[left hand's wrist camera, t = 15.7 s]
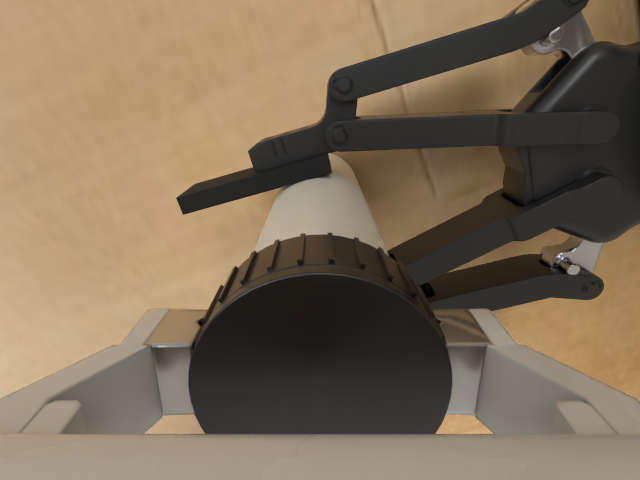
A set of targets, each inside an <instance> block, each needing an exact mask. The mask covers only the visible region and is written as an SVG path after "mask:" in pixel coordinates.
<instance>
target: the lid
mask: <svg viewBox="0 0 640 480" xmlns="http://www.w3.org/2000/svg"><path fill="white" fill-rule="evenodd" d="M202 323H203V325H202V327H201V329H200V331H199V333H198V335H197V337H196V339H195V341H194V350H193V353H192V356H191V360H190V366H189V372H188V388H189V394H190V400H191V404H192V407H193V410H194V413H195V416H196V418H197V420H198V422H199V424H200V426H201V428H202V429H203V431H204V432H205V434H435V433H436V432H437V430H438V429H439V427H440V425H441V424H442V422H443V419H444V417H445V415H446V412H447V410H448V406H449V402H450V399H451V392H452V383H453V381H452V366H451V362H450V357H449V353H448V351H447V348H446V345H445V343H444V340H445V339H446V338H445V335H444V333H443V331H442V329H441V327H440V325H439V323H438V321H437V319H436V317H435V314H434V312H433V310H432V308H431V306H430V305H429V303H428V301H427V299H426V297H425V295H424V293H423V291H422V289H421V287H420V285H419V283H418V281H417V280H416V279H415V280H414V281H413V280H412V279H411V277H410V276H409V275H408V273H407V271H406V269H405V267H404V265H403V263H402V262H400V261H399V262H398V263H397V262H396V261H395V260H394V259H392V258H391V257H389V256H388V255H387V254H385V253H384V251H383V249H382V248H381V247H378V249H377V248H375V247H373V246H371V245H369V244H366V243H364V242H361V241H359V238H357V237H354V239H351V238H347V237H343V236H336V235H333V234H332V233H330V232H328V234H327V235H326V234H323V235H305V233H302V234H300V236H298V237H293V238H289V239H286V240H282V241H279V239H278V240H275V241H274V244H272V245H270V246H267V247H265V248H264V249H262V250H260V251H259V252H256V251H253V252H252V253H251V255H250V258H249V259H247V260H246V261H245V262H243V263H242V264H241V265H240V266H239V267H238V268H237V267H236V266H235V267H234V268H233V269H232V271H231V273H230V276H229V278H228V280H227V282H226V284H225V286H222V285H221V286H220V287H219V289H218V291H217V293H216V295H215V297H214V299H213V301H212V303H211V305H210V307H209V309H208V311H207V313H206V315H205V317H204V319H203V321H202Z"/></svg>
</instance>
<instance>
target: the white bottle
mask: <svg viewBox="0 0 640 480" xmlns="http://www.w3.org/2000/svg"><path fill="white" fill-rule="evenodd" d="M328 155H329V159H330V163H331V170H332V173H330V174H327V175H323V176H319V177H316V178H312V179H309V180H305V181H302V182H298V183H294V184H291V185H287V186H284V187H280V188H279V191H278V193H277V195H276V198H275V200H274V203H273V205H272V207H271V210H270V212H269V215H268V217H267V220H266V222H265V224H264V227H263V229H262V232H261V234H260V236H259V239H258V241H257V244H256V246H255V248H254V251H256V252H259V251H260V250H262V249H264V248H265V247H267V246H270V245H272V244H274V241H275V240H278V239H279V241H282V240H286V239H289V238H293V237H298V236H300V234H302V233H305V235H323V234H326V235H327V234H328V232H330V233H332V234H333V235H336V236H343V237H347V238H351V239H354V237H357V238H359V241H361V242H364V243H366V244H369V245H371V246H373V247H375V248H377V249H378V247H381V248H382V249H383V251H384V253H385V254H387V255H388V253H387V250H386V248H385V246H384V243H383V241H382V238H381V236H380V234H379V231H378V229H377V226H376V224H375V222H374V219H373V217H372V215H371V212H370V210H369V207H368V205H367V203H366V200H365V198H364V195H363V193H362V191H361V188H360V186H359V183H358V181H357V179H356V176H355V174H354V172H353V170H352V168H351V167H350V166H349V165H348V163H347V162H345V161H344V160H343V159H342V158H340V157H339V156H337V155H334V154H332V153H328ZM388 256H389V255H388Z"/></svg>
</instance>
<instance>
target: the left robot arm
mask: <svg viewBox="0 0 640 480" xmlns="http://www.w3.org/2000/svg"><path fill="white" fill-rule="evenodd" d="M207 311H208V309H170V308H163V309H148V310H147V311H146V313H145V314H144V315H143V316H142V318H141V319H140V320H139V321H138V323H137V324H136V325H135V326H134V328H133V329H132V330H131V331H130V333H129V334H128V335H127V336H126V338H125V339H124V340H123V341H122V343H121V344H120V345H112V346H110V347H108V348H106V349H104V350H102V351H99V352H97V353H95V354H93V355H91V356H89V357H87V358H85V359H83V360H81V361H79V362H76V363H74V364H72V365H70V366H68V367H66V368H64V369H62V370H60V371H58V372H55V373H53V374H51V375H49V376H47V377H45V378H43V379H41V380H39V381H37V382H35V383H32V384H30V385H28V386H26V387H24V388H22V389H20V390H18V391H16V392H14V393H11V394H9V395H7V396H5V397H3V398H1V399H0V480H640V402H639V401H638V400H637V399H635V398H633V397H631V396H629V395H627V394H625V393H623V392H621V391H619V390H617V389H615V388H613V387H610V386H608V385H606V384H604V383H602V382H600V381H598V380H596V379H594V378H592V377H590V376H588V375H586V374H583V373H581V372H579V371H577V370H575V369H573V368H571V367H569V366H567V365H565V364H563V363H561V362H559V361H556V360H554V359H552V358H550V357H548V356H546V355H544V354H542V353H540V352H538V351H536V350H534V349H532V348H529V347H527V346H525V345H517V343H516V342H515V341H514V340H513V338H512V337H511V336H510V335H509V333H508V332H507V331H506V330H505V328H504V327H503V326H502V324H501V323H500V322H499V321H498V319H497V318H496V317H495V316H494V314H493V313H492V312H491V311H490V310H489V309H487V308H480V309H437V310H433V312H434V314H435V317H436V319H437V321H438V323H439V325H440V327H441V329H442V331H443V333H444V335H445V338H446V339H445V340H444V343H445V345H446V348H447V351H448V353H449V357H450V362H451V366H452V381H453V383H452V392H451V399H450V402H449V406H448V410H447V412H446V414H449V415H475V417H476V418H477V419H478V420H479V421H480V422H481V423H483V424H484V425H485V426H486V427H487V428H488V429H489V430H491V431H492V432H493V433H494V434H144V433H145V432H146V431H147V430H148V429H149V428H151V427H152V426H153V425H154V424H155V423H156V422H157V421H159V420H160V419H161V418H162V415H188V414H195V413H194V410H193V407H192V404H191V400H190V394H189V388H188V372H189V366H190V360H191V356H192V353H193V350H194V341H195V339H196V337H197V335H198V333H199V331H200V329H201V327H202V325H203V323H202V321H203V319H204V317H205V315H206V313H207Z"/></svg>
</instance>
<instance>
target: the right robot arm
mask: <svg viewBox="0 0 640 480" xmlns="http://www.w3.org/2000/svg"><path fill="white" fill-rule="evenodd" d="M588 1H589V0H526V1H525V2H523V3H522V4H521V5H519V6H518V7H517V8H515V9H514V10H512V11H511V12H510V13H508V14H507V15H506V16H504V17H503V18H502V19H499V20H496V21H493V22H489V23H486V24H483V25H480V26H477V27H473V28H470V29H467V30H464V31H460V32H457V33H454V34H451V35H448V36H444V37H441V38H438V39H435V40H432V41H428V42H425V43H422V44H419V45H415V46H412V47H409V48H406V49H403V50H399V51H396V52H393V53H390V54H386V55H383V56H380V57H377V58H374V59H370V60H367V61H364V62H361V63H358V64H354V65H351V66H348V67H345V68H341V69H339V70H337V71H335V72H334V73H333V74H332V75H331V77H330V78H329V81H328V84H327V85H328V86H327V99H326V109H325V113H324V115H323V117H322V118H321V120H320V121H318V122H317V123H315V124H313V125H309V126H306V127H302V128H299V129H296V130H292V131H289V132H285V133H282V134H279V135H275V136H272V137H268V138H265V139H262V140H261V141H260V142H258V143H257V144H256V145H255V146H253V147H252V148H251V149H250V150H249V151H248V152H249V155H250V158H251V161H252V164H253V168H249V169H246V170H242V171H239V172H235V173H232V174H228V175H225V176H221V177H218V178H214V179H211V180H207V181H204V182H200V183H197V184H194V185H193V186H192V187H190V188H189V189H188V190H186V191H185V192H184V193H182V194H181V195H180V196H178V197H177V201H178V203H179V206H180V208H181V210H182V213H183V215H184V214H187V213H191V212H194V211H198V210H202V209H205V208H209V207H212V206H216V205H219V204H223V203H227V202H230V201H234V200H237V199H241V198H244V197H248V196H252V195H255V194H259V193H262V192H266V191H269V190H273V189H277V188H280V187H284V186H287V185H291V184H294V183H298V182H302V181H305V180H309V179H312V178H316V177H319V176H323V175H327V174H330V173H332V170H331V163H330V159H329V155H328V153H332V152H335V151H339V152H345V151H369V150H392V149H416V148H440V147H464V146H488V145H496V146H498V148H499V152H500V154H501V156H502V159H503V161H504V163H505V172H504V179H503V187H504V188H502V189H500V190H498V191H496V192H494V193H492V194H490V195H488V196H487V197H485V198H484V199H483V202H482V203H481V204H479V205H477V206H475V207H473V208H471V209H469V210H467V211H465V212H463V213H461V214H459V215H457V216H456V217H454V218H452V219H450V220H448V221H446V222H444V223H442V224H440V225H438V226H436V227H434V228H432V229H430V230H428V231H426V232H424V233H422V234H420V235H418V236H416V237H414V238H412V239H410V240H408V241H406V242H404V243H402V244H400V245H398V246H396V247H394V248H392V249H390V250H388V251H387V253H388V255H389V257H391V258H392V259H394V260H395V261H396V262H397V263H398V262H399V261H400V262H402V263H403V265H404V267H405V269H406V271H407V273H408V275H409V276H410V277H411V279H412V280H413V281H414V280H415V279H416V280H417V281H418V283H419V285H420V287H421V289H422V291H423V293H424V295H425V297H426V299H427V301H428V303H429V305H430V306H431V308H432V310H437V309H480V308H487V309H489V310H490V311H494V310H499V309H503V308H507V307H512V306H516V305H520V304H524V303H529V302H533V301H537V300H542V299H546V298H550V297H553V298H567V299H581V300H590V299H594V298H596V297H597V296H599V295H600V294H601V292H602V291H603V288H604V283H603V281H602V280H601V279H600V278H599V277H598V276H596V275H595V274H593V271H594V268H595V265H596V262H597V259H598V256H599V253H600V250H601V247H602V245H603V243H605V242H609V241H612V240H614V239H616V238H618V237H619V236H621V235H622V234H623V233H625V232H626V231H627V230H629V229H630V228H632V227H634V226H636V225H638V224H640V42H636V43H633V44H629V45H626V46H623V45H617V44H614V43H611V42H595V41H594V38H593V36H592V34H591V32H590V29H589V27H588V25H587V23H586V21H585V18H584V16H583V14H582V12H581V10H582V9H583V8H584V7H585V6H586V5H587V3H588ZM518 49H521V50H522V51H523V53H525V54H526V55H529V56H537V55H543V54H548V53H553V54H554V55H556V56H557V58H558V60H557V61H556V62H555V63H554V64H553V65H552V67H551V68H550V69H549V70H548V71H547V72H546V73H545V74H544V75H543V76H542V78H541V79H540V80H539V81H538V82H537V83H536V84H535V85H534V86H533V88H532V89H531V90H530V91H529V92H528V93H527V94H526V95H525V96H524V97H523V99H522V100H521V101H520V102H519V103H518V104H517V105H516V106H515V107H514V108H513V109H498V110H478V111H467V112H444V113H421V114H398V115H375V116H356V108H357V98H360V97H364V96H367V95H370V94H374V93H377V92H380V91H384V90H387V89H390V88H394V87H397V86H400V85H403V84H407V83H410V82H413V81H417V80H420V79H423V78H427V77H430V76H433V75H436V74H440V73H443V72H446V71H450V70H453V69H456V68H460V67H463V66H466V65H470V64H473V63H476V62H479V61H483V60H486V59H489V58H493V57H496V56H499V55H503V54H506V53H509V52H513V51H515V50H518ZM552 228H554V229H557V230H560V231H562V232H565V233H568V234H570V237H569V238H568V240H567V241H565V242H564V243H562V244H559V245H554V246H551V247H550V246H545V247H543V248H542V250H541V254H529V255H520V256H515V257H511V258H507V259H503V260H499V261H494V262H490V263H486V264H482V265H478V266H474V267H470V268H466V269H462V270H458V271H454V272H449V271H451V270H453V269H455V268H457V267H459V266H461V265H463V264H465V263H467V262H469V261H472V260H474V259H476V258H478V257H480V256H482V255H484V254H486V253H488V252H490V251H492V250H494V249H496V248H499V247H501V246H503V245H505V244H507V243H509V242H512V241H525V240H528V239H531V238H533V237H535V236H537V235H539V234H542V233H544V232H546V231H548V230H550V229H552ZM447 272H449V273H447ZM444 273H445V274H444Z"/></svg>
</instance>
